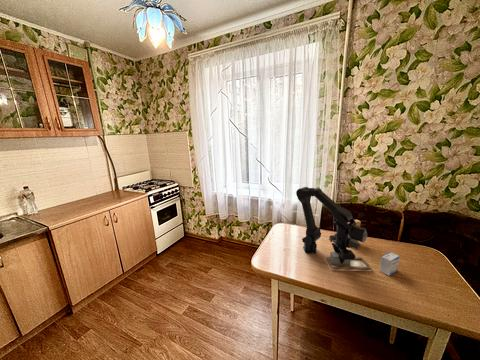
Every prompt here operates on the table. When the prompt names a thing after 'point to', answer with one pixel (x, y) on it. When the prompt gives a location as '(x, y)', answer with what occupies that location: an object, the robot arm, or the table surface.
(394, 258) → the medicine box
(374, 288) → the table surface
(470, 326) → the table surface
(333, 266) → the tray
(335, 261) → the grey box with label
